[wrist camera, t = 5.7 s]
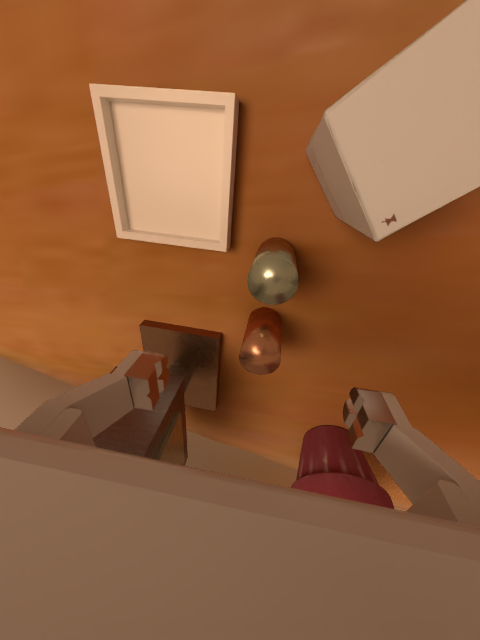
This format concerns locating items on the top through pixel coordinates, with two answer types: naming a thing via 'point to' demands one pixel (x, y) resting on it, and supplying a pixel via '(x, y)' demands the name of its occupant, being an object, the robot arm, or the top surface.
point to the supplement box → (406, 132)
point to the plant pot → (337, 468)
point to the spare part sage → (274, 272)
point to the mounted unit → (169, 394)
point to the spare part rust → (262, 342)
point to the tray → (169, 162)
